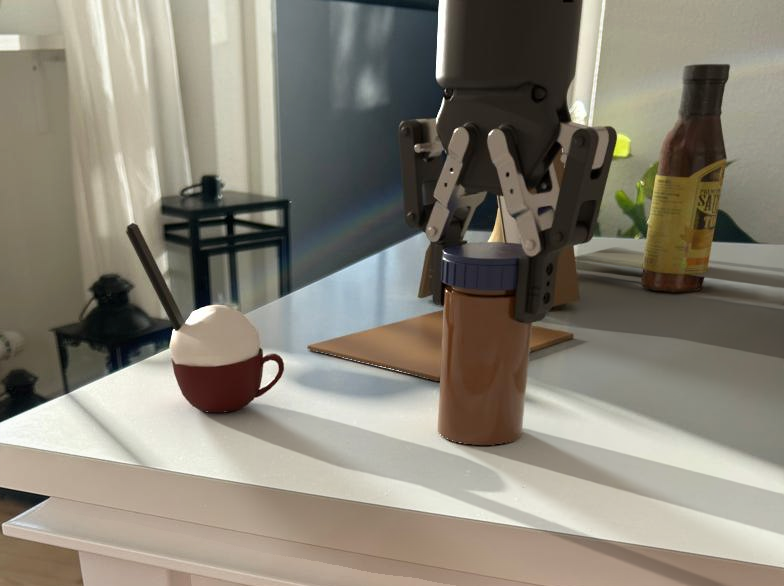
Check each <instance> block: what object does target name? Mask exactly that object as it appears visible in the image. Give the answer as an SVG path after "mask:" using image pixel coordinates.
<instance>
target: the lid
mask: <svg viewBox="0 0 784 586" xmlns="http://www.w3.org/2000/svg"><path fill="white" fill-rule="evenodd" d="M525 255H526V254H525V253H524V251H523V247H522V244H518V243H505V242H488V241H478V242H477V241H475V242H467V243H463V244H457V245H452V246H448V247H446V248H444V249H443V257H441V274H440V278H441V281H442V282H443V283H445V284H447V285H450V286H453V287H458V288H463V289H472V290H491V291H497V290H515V289H516V288H517V276H518V264H519V257H520V256H525Z"/></svg>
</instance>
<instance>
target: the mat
mask: <svg viewBox="0 0 784 586" xmlns="http://www.w3.org/2000/svg"><path fill="white" fill-rule="evenodd" d="M443 312H444V309H441V310H437V311H433V312H429V313H426V314H421V315H418V316H414V317H411V318H407V319H403V320H399V321H396V322H392V323H388V324H384V325H380V326H376V327H373V328H368V329H364V330H360V331H357V332H354V333H349V334H345V335H343V336H342V335H341V336H338V337H334V338H331V339H327V340H323V341H319V342H316V343H311V344H308V345H306V347H307V350H308V349H310V350H314V351H318V352H323V353H327V354H332V355H336V356H340V357H344V358H348V359H352V360H356V361H360V362H364V363H369V364H373V365H377V366H382V367H386V368H391V369H394V370H399V371H402V372H406V373H410V374H413V375H417V376H421V377H425V378H428V379H431V380H435V381H434V382H436V381H440V371H441V351H442V332H443ZM572 339H574V333H573V332H568V331H563V330H557V329H552V328H548V327H541V326H536V325H532V330H531V341H530V351H529V353H531V352H535V351H538V350H541V349H543V348H548V347H550V346H554V345H557V344H559V343H562V342H565V341H568V340H572ZM431 380H430V381H431Z"/></svg>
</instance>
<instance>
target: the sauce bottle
mask: <svg viewBox="0 0 784 586" xmlns="http://www.w3.org/2000/svg"><path fill="white" fill-rule="evenodd" d="M730 68H731V64H729V63H689V64H685V65H684V66H683V69H682V70H683V72H682V78H681V80H682V91H681V98H680V105H679V109H678V111H677V117H678V119H677V120H676V122H675V123H674V125H673V127H672V129H671V130H670V131H668V133H667V134H666V136H665V138H664V140H663V141H662V143H661V148H660V151H659V161H658V167H657V173H656V174H655V179H654V185H653V192H652V199H651V206H650V211H649V219H648V226H647V232H646V238H645V244H644V245H645V246H644V251H643V260H642V266H641V268H642V276H641V286H642V287H644V289H648V290H650V291H656V292H668V293H680V292H681V293H682V292H692V291H697V290H700V289H701V288H702V287H703V285H704V282H705V281H704V280H705V276H700V275H699V274H704V273H707V271H708V268H709V262H710V256H711V251H712V245H713V240H714V233H715V228H716V223H717V217H718V211H719V206H720V200H721V195H722V188H723V182H724V178H725V171H726V167H727V166H726V165H727V161H728V159H727V158H728V157H727V152H726V146H725V139H724V134H723V126H722V119H721V116H722V114H723V111H722V107H723V99H724V94H725V90H726V89H725V88H726V84H727V82H728V81H729V78H730ZM697 274H698V275H697Z"/></svg>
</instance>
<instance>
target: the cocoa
mask: <svg viewBox="0 0 784 586" xmlns="http://www.w3.org/2000/svg"><path fill="white" fill-rule="evenodd" d="M125 234H126V236H127V237H128V239H129V241H130V244H131V245H132V247H133V249H134V252H135V253H136V255H137V258H138V259H139V261H140V263H141V265H142V267H143V270H144V272H145V273H146V276H147V277H148V279H149V281H150V283H151V285H152V288H153V290H154V292H155V294H156V296H157V297H158V299H159V302H160V304H161V306H162V308H163V310H164V312H165V314H166V316H167V318H168V319H169V322H170V324H171V326H172V328H173V330H172V333H171V336H170V337H171V338H170V342H169V351H170V354H171V363H172V368H173V374H174V377H175V379H176V382H177V385H178V388H179V390H180V391H181V394H182V396H183V398H184V399H185V400H186V401H187V402H188V403H189V404H190V405H191V407H193V408H196V409H197V410H199V409H200V410H199V411H201V410H203V411H202V412H204V411H208V412H207V413H210V412H222V413H225V412H224V411H230V412H233V411H232V410H234V411H238V410H241V409H243V408H245V407H247V406H248V405H249V404H251V402H253V401H254V400H255V399H256V398H259V397H261V396H263V395H264V394H266V393H267V392H268V391H270V390H271V389H272V388H273V387H274V386H276V384H277V383H278V382H279V381H280V379H281V378H282V376H283V374H284V371H285V363H284V359H283V358H282V356H280V355H279V354H277V353H268V354H266V355H264V349H263V348H261V339H260V335H259V330H258V329H257V328H256V327H255V326H254V325H253V324H252V323H251V321H250V320H249V319H248V318H247V317H246V316H245V315H244V314H243V312H241V311H240V310H235V309H232V308H230V307H228V306H227V305H225V304H223V305H222V304H213V305H206V306H204V307H200V308H199V309H196V310H194V311H192V312H191V314H190V316H189V317H188V318H187V319H186V320H185V319H184V317H183V315H182V313H181V311H180V308H179V307H178V304H177V303H176V300H175V299H174V296H173V294H172V292H171V289H170V288H169V286H168V284H167V282H166V280H165V278H164V275H163V274H162V272H161V270H160V268H159V266H158V264H157V262H156V259H155V258H154V256H153V253H152V251H151V250H150V247H149V246H148V243H147V242H146V239H145V237H144V235H143V233H142V231H141V229H140V227H139V225H138V224H137V223H134V222H131V223H130V224H128V225H127V226H126V229H125ZM269 361H273V362H275V363H277V366H278V371H277V373H276V375H275V376H274V377H273V378H272V379H271V380H270V381H268V383H266V385H264V386H263V387H262V388H261V384H262V380H263V372H264V364H265V363H267V362H269ZM237 409H238V410H237Z"/></svg>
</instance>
